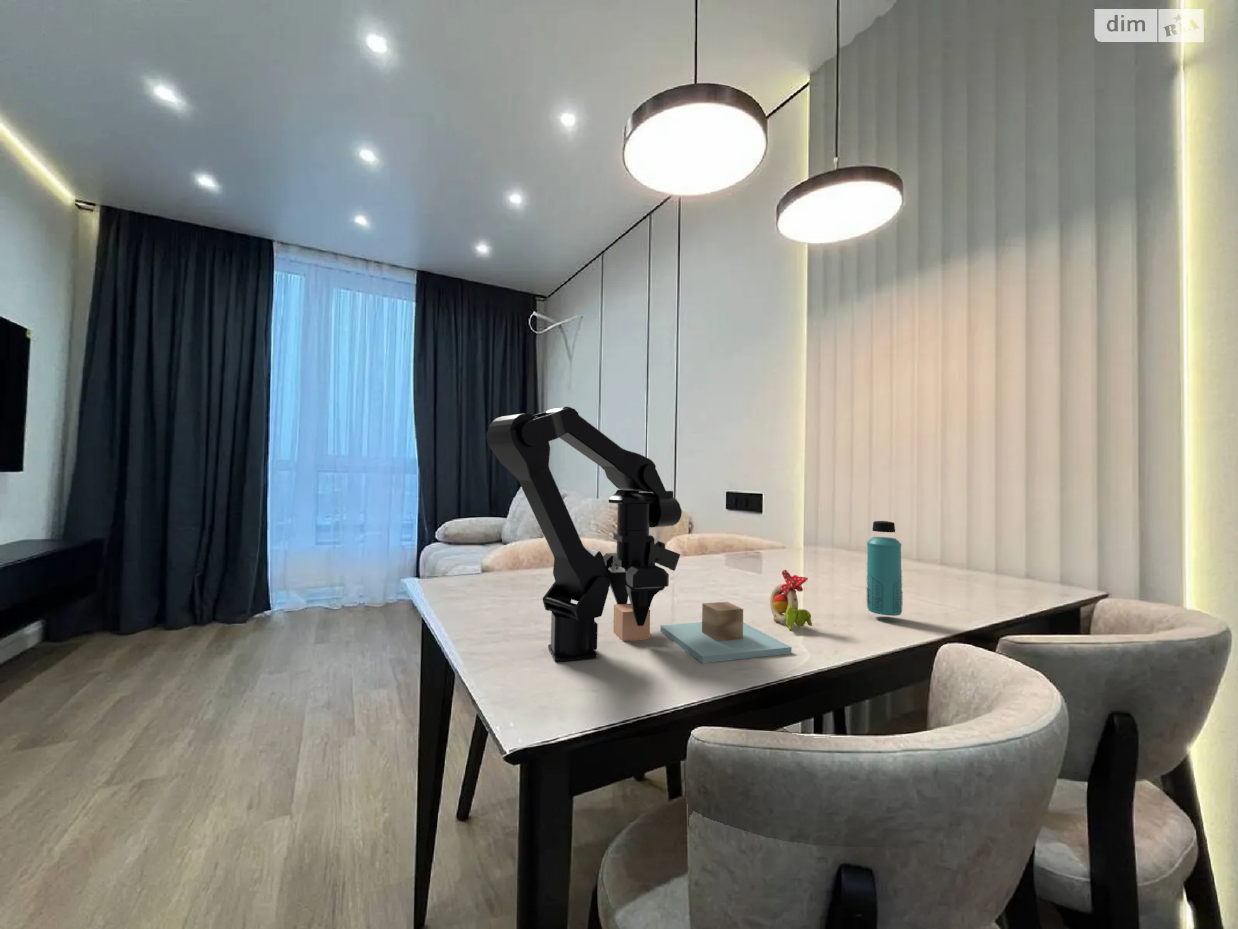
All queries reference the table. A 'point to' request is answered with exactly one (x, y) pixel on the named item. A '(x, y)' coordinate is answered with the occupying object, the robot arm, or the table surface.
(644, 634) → the terracotta cube
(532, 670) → the table surface
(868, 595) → the beverage bottle
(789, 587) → the bird rattle
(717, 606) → the walnut cube
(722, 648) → the board
